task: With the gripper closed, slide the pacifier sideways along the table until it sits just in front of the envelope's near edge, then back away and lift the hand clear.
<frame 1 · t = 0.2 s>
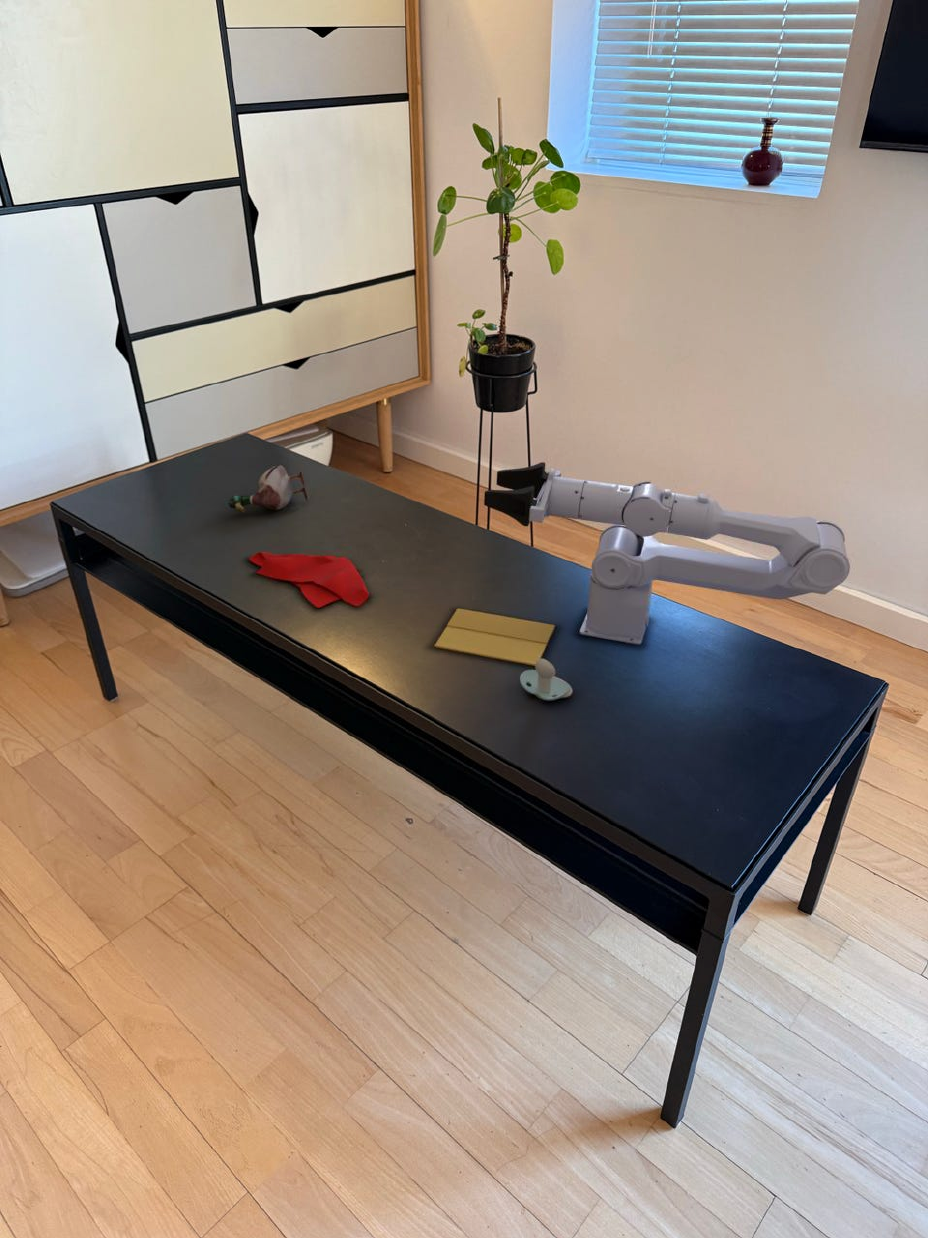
hand: (491, 487, 131), 21 cm above the table, tool horizontal, fingers open, 7 cm apart
cloth: (316, 576, 152), on the table
envelope: (495, 637, 136), on the table
decorative duck model: (267, 505, 177), on the table
pacifier: (547, 693, 124), on the table
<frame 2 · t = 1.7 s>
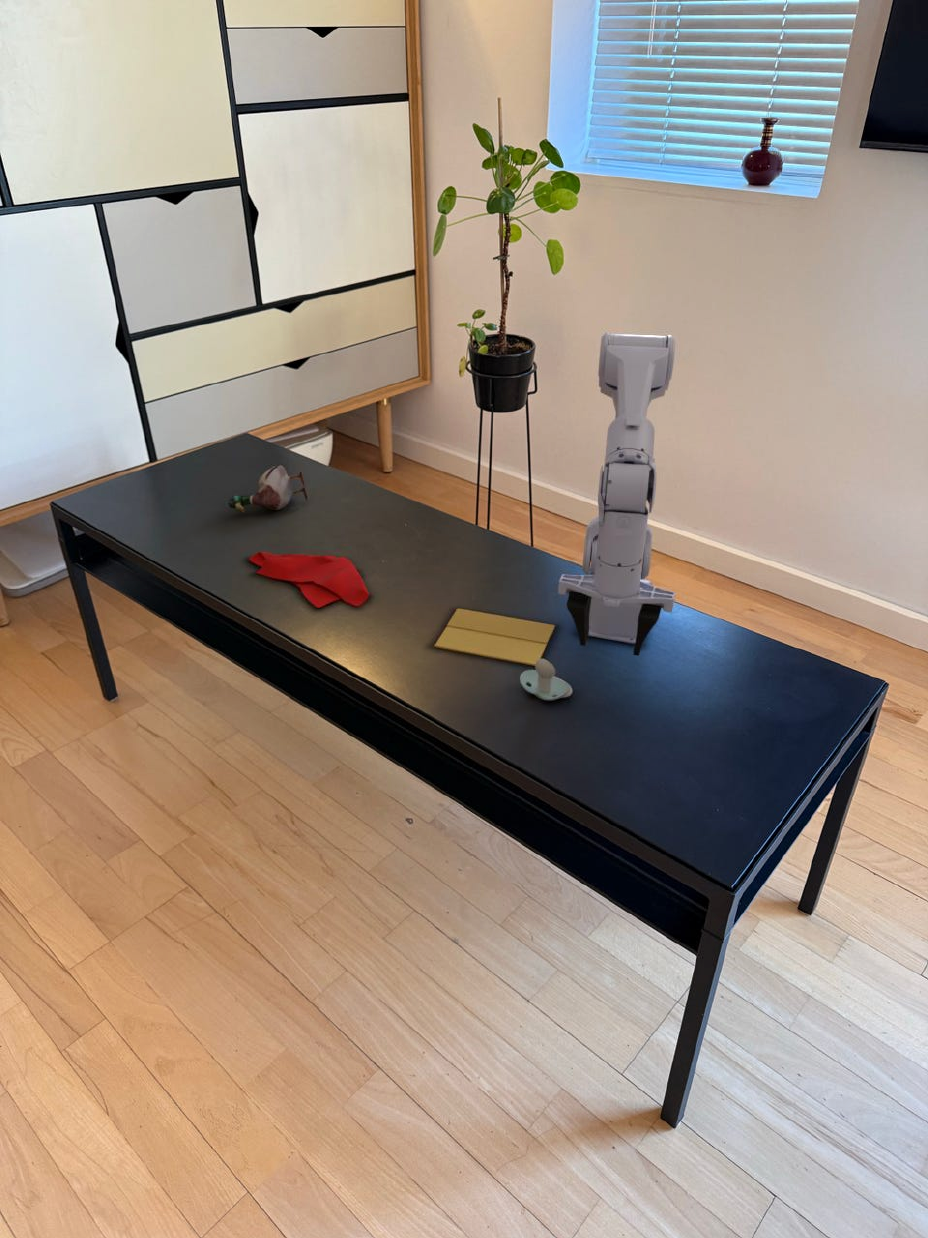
hand: (610, 646, 117), 9 cm above the table, tool pointing down, fingers open, 6 cm apart
nothing on the table moved.
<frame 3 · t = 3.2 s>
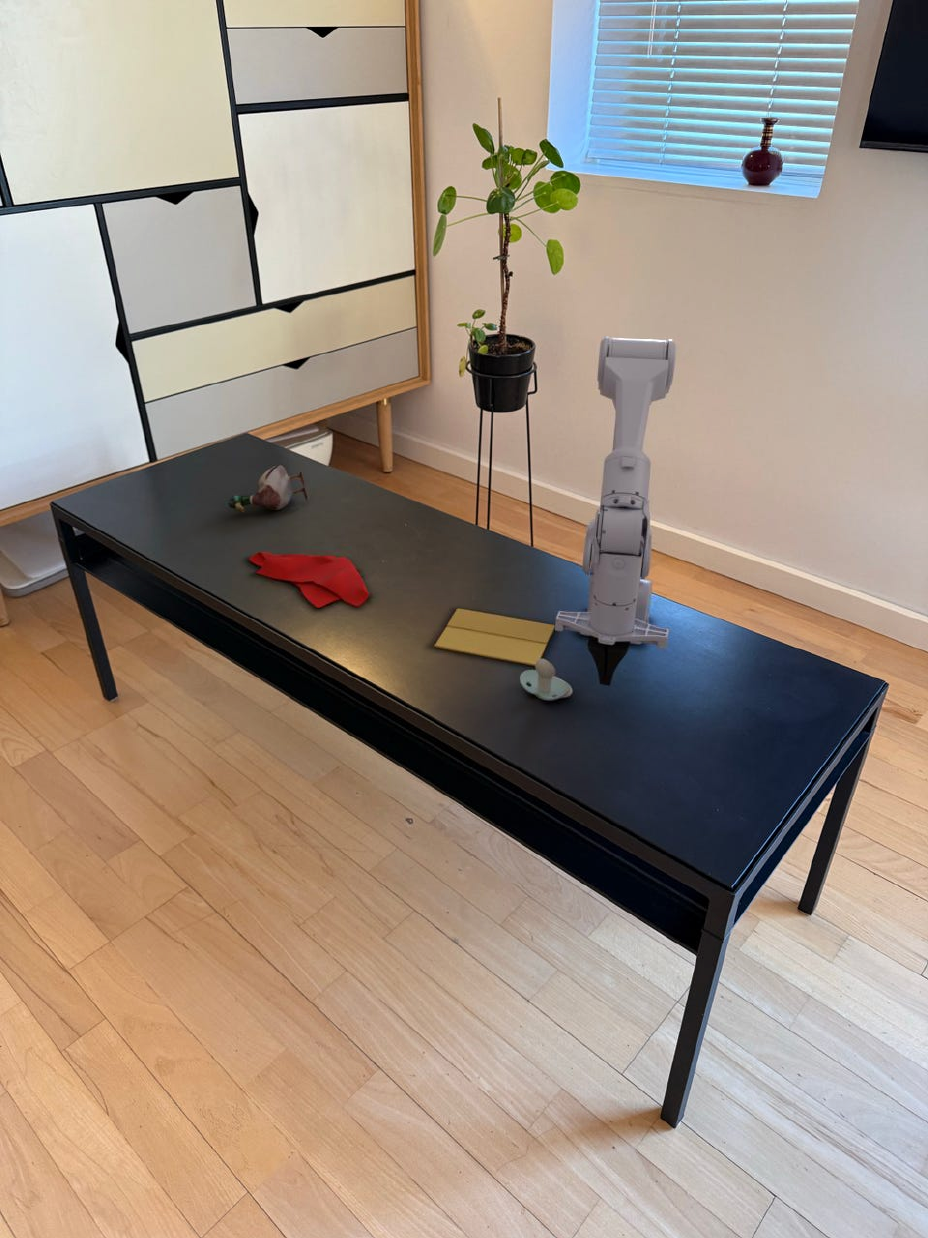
hand: (605, 680, 120), 4 cm above the table, tool pointing down, fingers closed
nothing on the table moved.
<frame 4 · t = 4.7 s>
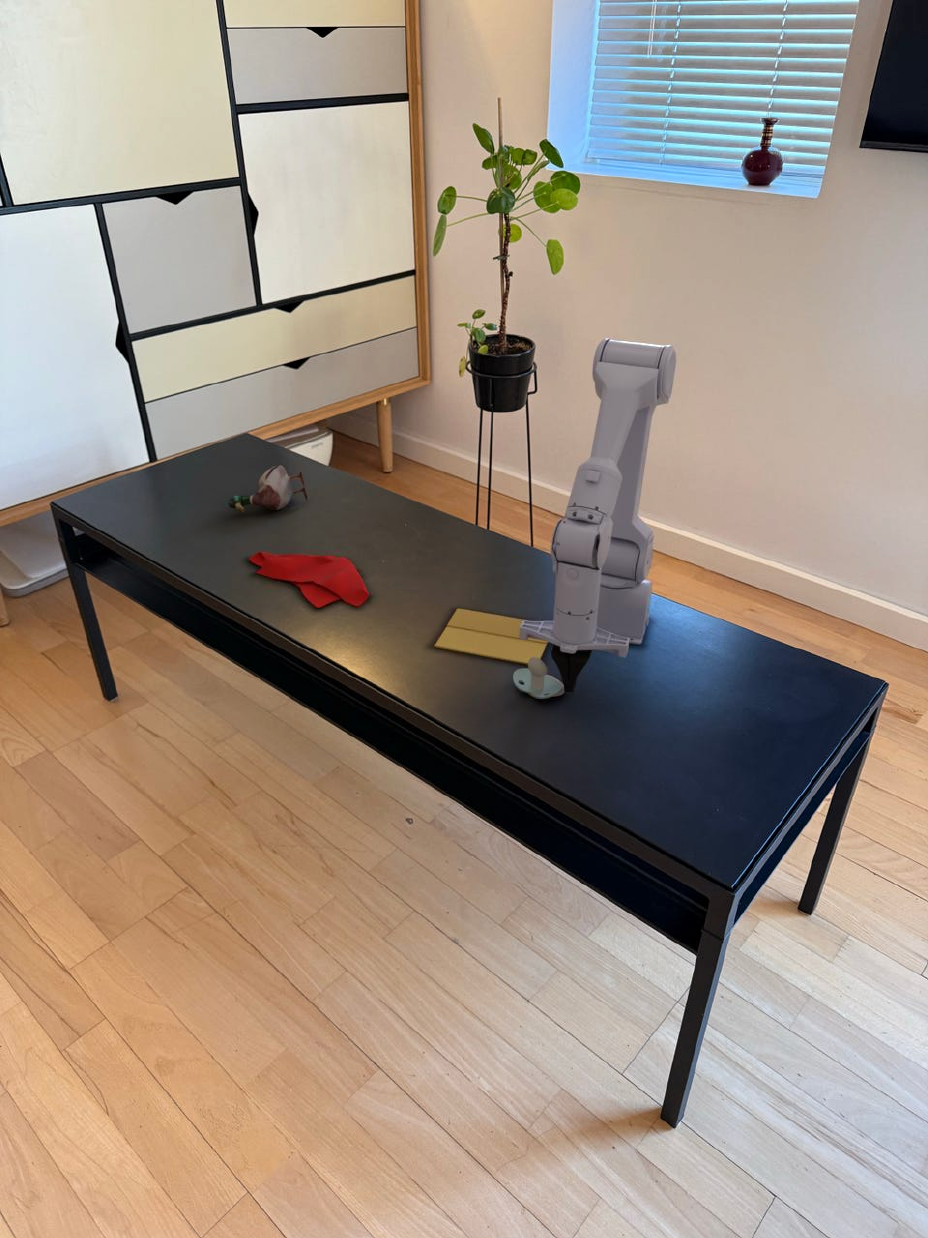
hand: (569, 688, 123), 1 cm above the table, tool pointing down, fingers closed
pacifier: (540, 691, 125), on the table, touching gripper
everything else where it was.
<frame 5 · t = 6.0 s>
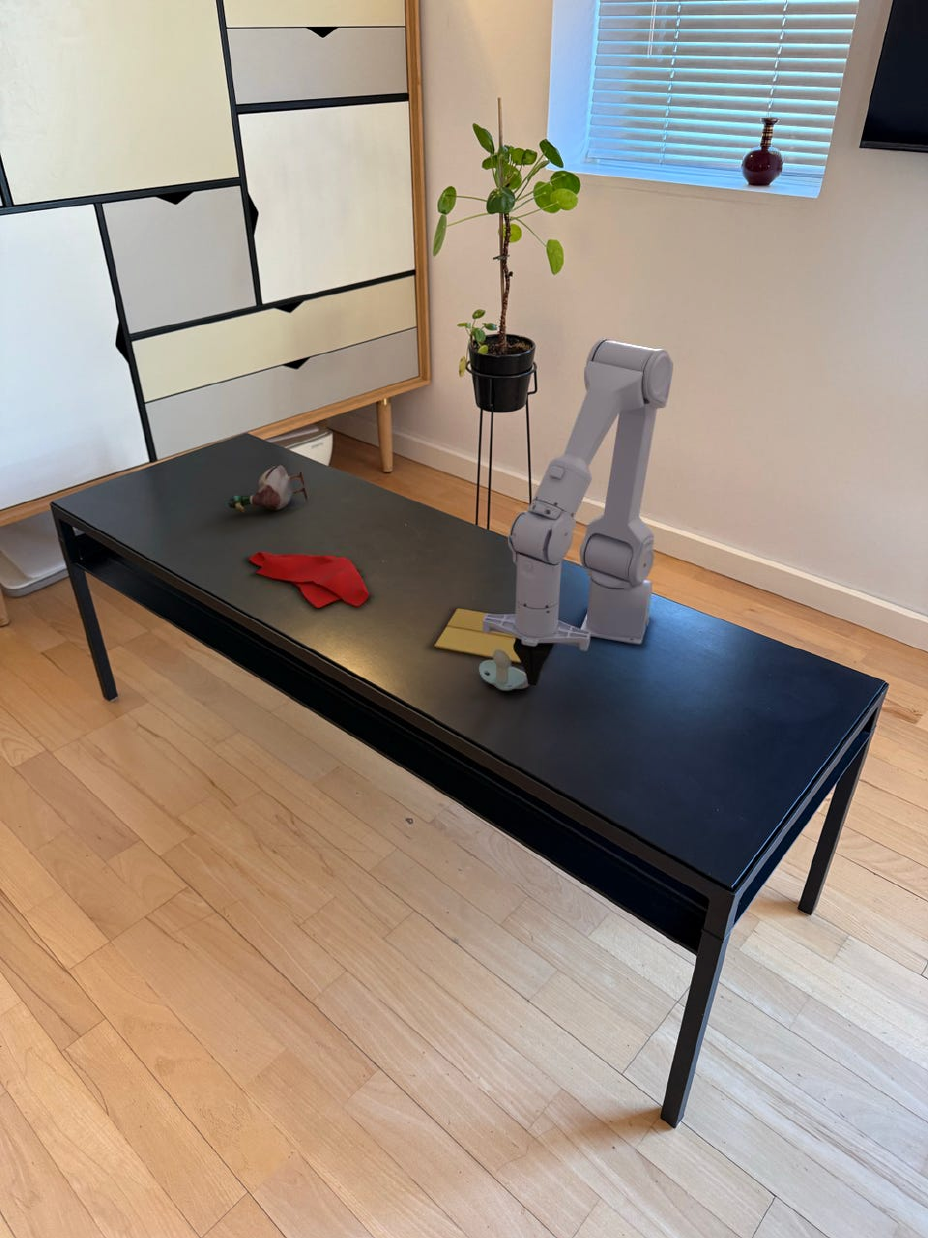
hand: (533, 681, 124), 1 cm above the table, tool pointing down, fingers closed
pacifier: (506, 683, 126), on the table, touching gripper
everything else where it was.
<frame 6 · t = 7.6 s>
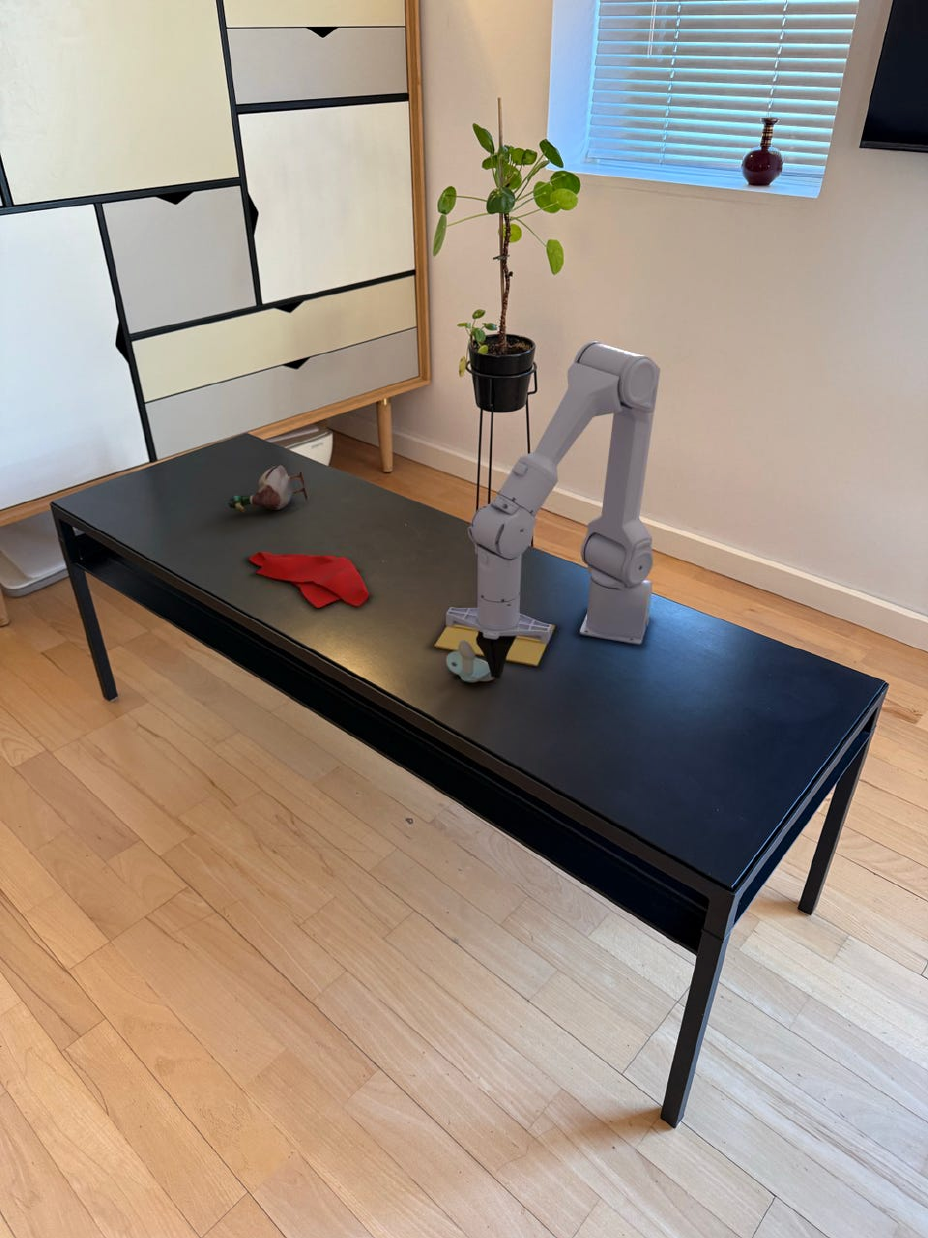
hand: (497, 674, 125), 1 cm above the table, tool pointing down, fingers closed
pacifier: (473, 675, 128), on the table, touching gripper
everything else where it was.
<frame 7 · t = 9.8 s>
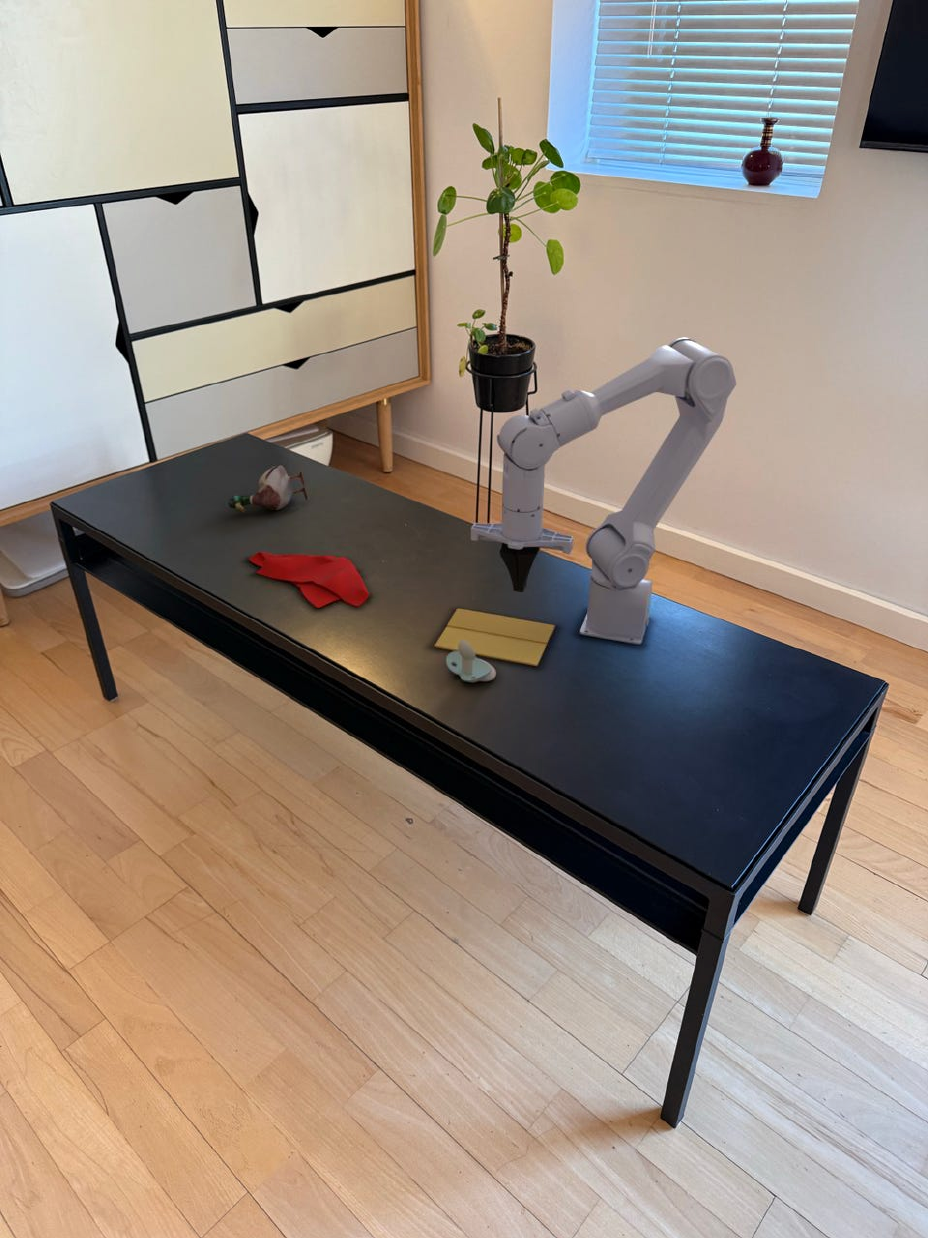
hand: (519, 588, 130), 9 cm above the table, tool pointing down, fingers closed
pacifier: (473, 675, 128), on the table
everything else where it was.
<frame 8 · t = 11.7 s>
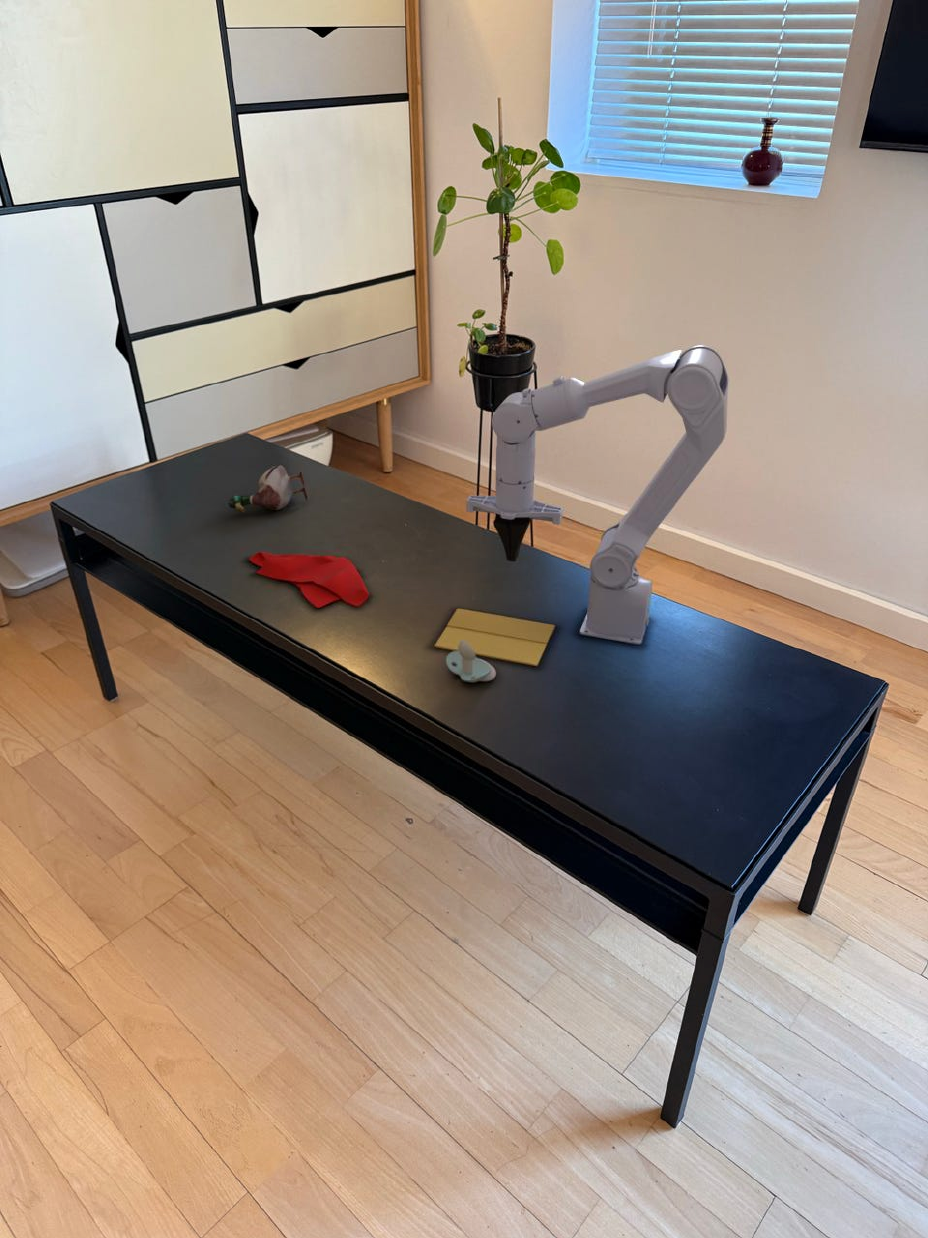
hand: (512, 558, 138), 9 cm above the table, tool pointing down, fingers closed
nothing on the table moved.
at the end: pacifier inside the target area (1.8 cm from its centre), on the table; pacifier touching table; pacifier moved 11.3 cm from its start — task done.
